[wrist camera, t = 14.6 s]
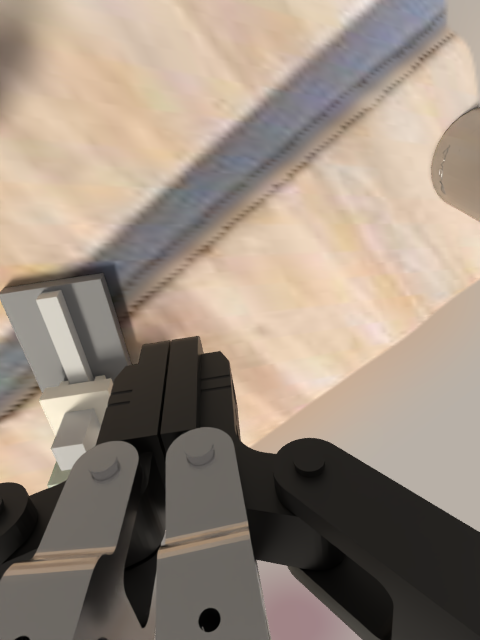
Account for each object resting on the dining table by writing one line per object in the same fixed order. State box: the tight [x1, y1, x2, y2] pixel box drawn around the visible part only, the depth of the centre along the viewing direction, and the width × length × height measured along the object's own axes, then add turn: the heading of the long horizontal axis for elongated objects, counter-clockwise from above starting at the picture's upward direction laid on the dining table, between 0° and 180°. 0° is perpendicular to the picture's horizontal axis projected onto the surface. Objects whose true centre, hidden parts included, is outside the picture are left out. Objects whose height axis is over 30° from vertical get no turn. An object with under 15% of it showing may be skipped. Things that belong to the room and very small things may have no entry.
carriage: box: [39, 375, 113, 471], centre depth 46 cm, size 7×7×8 cm
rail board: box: [0, 273, 132, 393], centre depth 48 cm, size 10×19×3 cm, turn 8°
